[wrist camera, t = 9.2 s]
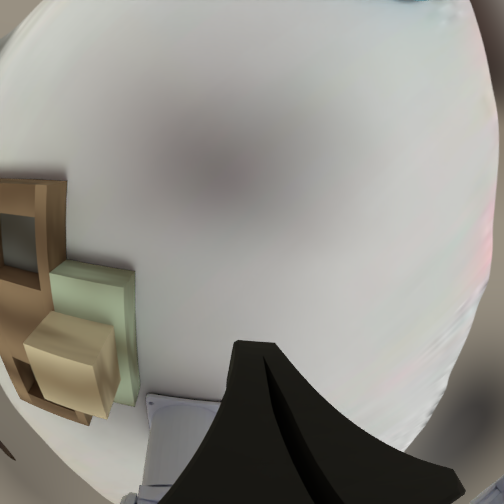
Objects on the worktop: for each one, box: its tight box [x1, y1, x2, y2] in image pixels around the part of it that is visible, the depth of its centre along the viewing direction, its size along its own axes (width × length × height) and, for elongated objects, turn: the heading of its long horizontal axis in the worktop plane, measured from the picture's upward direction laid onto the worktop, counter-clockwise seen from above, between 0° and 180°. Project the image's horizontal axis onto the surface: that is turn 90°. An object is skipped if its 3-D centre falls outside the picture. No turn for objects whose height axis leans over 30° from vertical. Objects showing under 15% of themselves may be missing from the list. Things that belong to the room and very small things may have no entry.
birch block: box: [23, 311, 121, 419], centre depth 14 cm, size 5×5×4 cm
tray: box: [0, 178, 140, 426], centre depth 16 cm, size 22×14×2 cm, turn 170°
